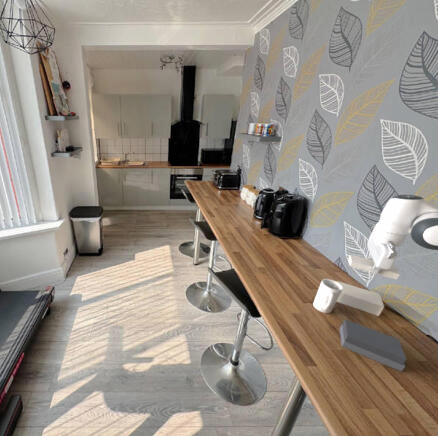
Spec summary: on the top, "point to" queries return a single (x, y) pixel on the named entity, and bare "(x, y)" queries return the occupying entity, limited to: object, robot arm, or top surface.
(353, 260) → the cream rectangular block
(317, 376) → the top surface
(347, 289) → the white rectangular block
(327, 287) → the mug
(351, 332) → the grey rectangular block
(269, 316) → the top surface
